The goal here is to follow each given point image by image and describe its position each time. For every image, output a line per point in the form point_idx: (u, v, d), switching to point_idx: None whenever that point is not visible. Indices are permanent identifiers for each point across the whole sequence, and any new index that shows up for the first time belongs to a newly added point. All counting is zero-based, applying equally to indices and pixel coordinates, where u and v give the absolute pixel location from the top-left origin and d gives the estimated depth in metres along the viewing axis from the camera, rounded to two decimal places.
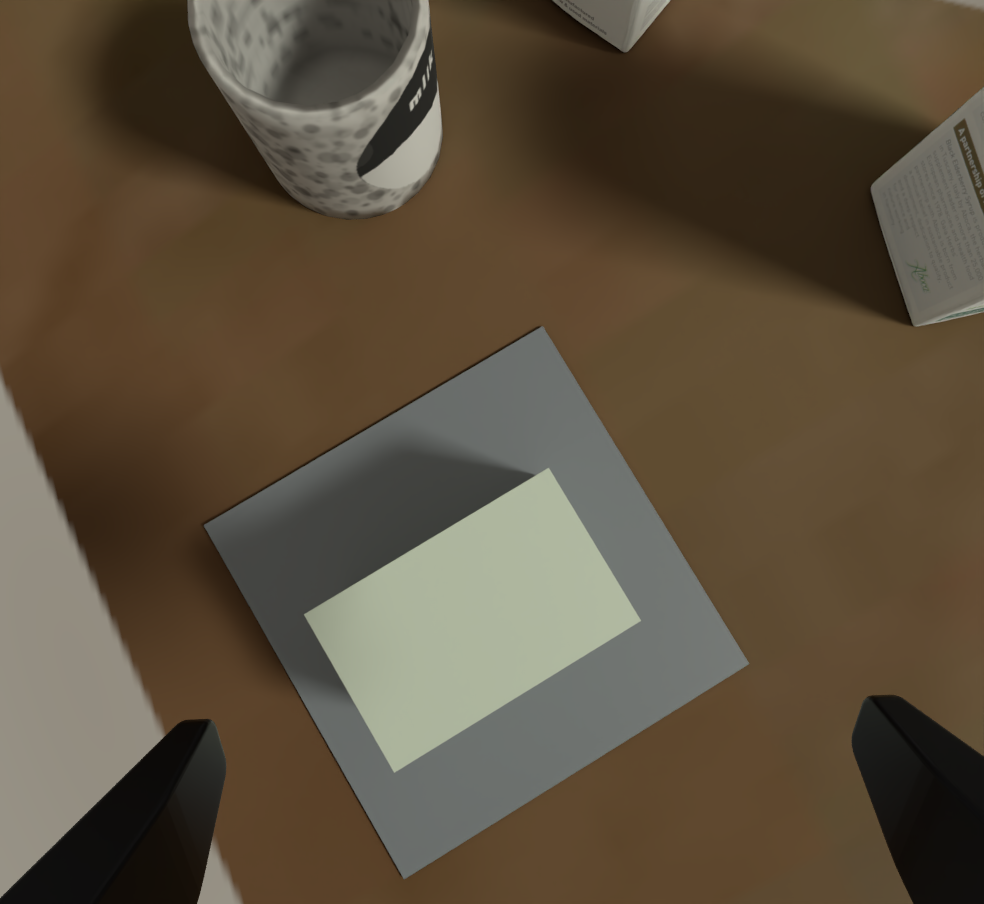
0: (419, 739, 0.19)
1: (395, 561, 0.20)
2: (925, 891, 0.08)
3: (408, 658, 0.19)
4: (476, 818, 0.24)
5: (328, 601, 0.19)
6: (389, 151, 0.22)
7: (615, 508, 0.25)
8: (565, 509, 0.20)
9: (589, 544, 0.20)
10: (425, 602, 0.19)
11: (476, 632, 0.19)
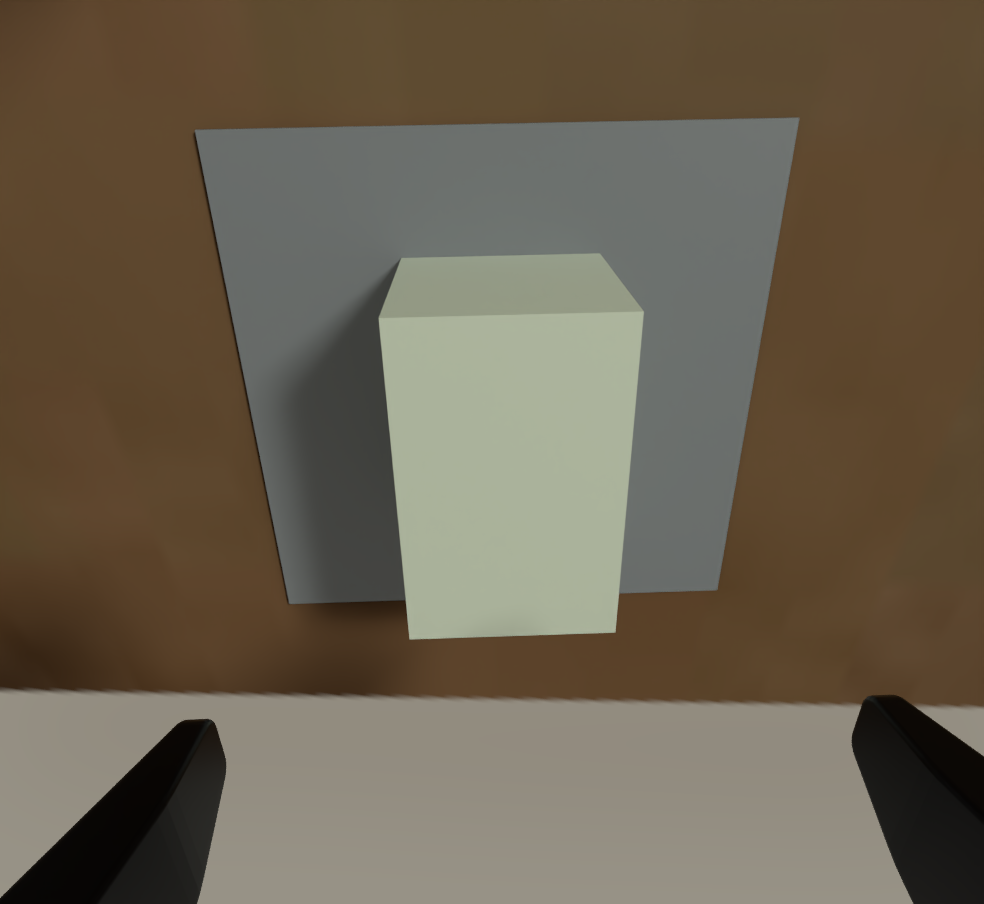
0: (601, 599, 0.16)
1: (402, 539, 0.15)
2: (925, 891, 0.08)
3: (514, 572, 0.16)
4: (716, 510, 0.21)
5: (409, 614, 0.16)
6: None
7: (498, 178, 0.17)
8: (445, 326, 0.13)
9: (508, 320, 0.13)
10: (464, 532, 0.15)
11: (531, 499, 0.15)
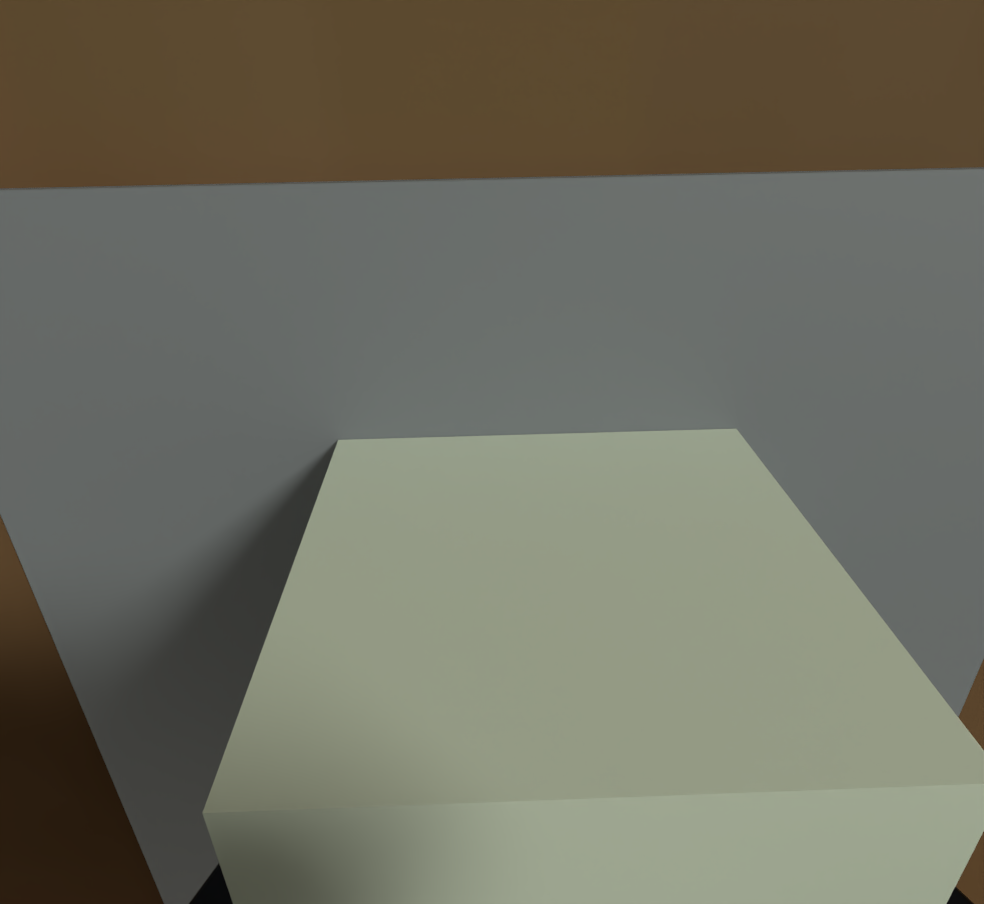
0: None
1: None
2: None
3: None
4: None
5: None
6: None
7: (537, 290, 0.08)
8: (409, 825, 0.04)
9: (599, 805, 0.04)
10: None
11: None
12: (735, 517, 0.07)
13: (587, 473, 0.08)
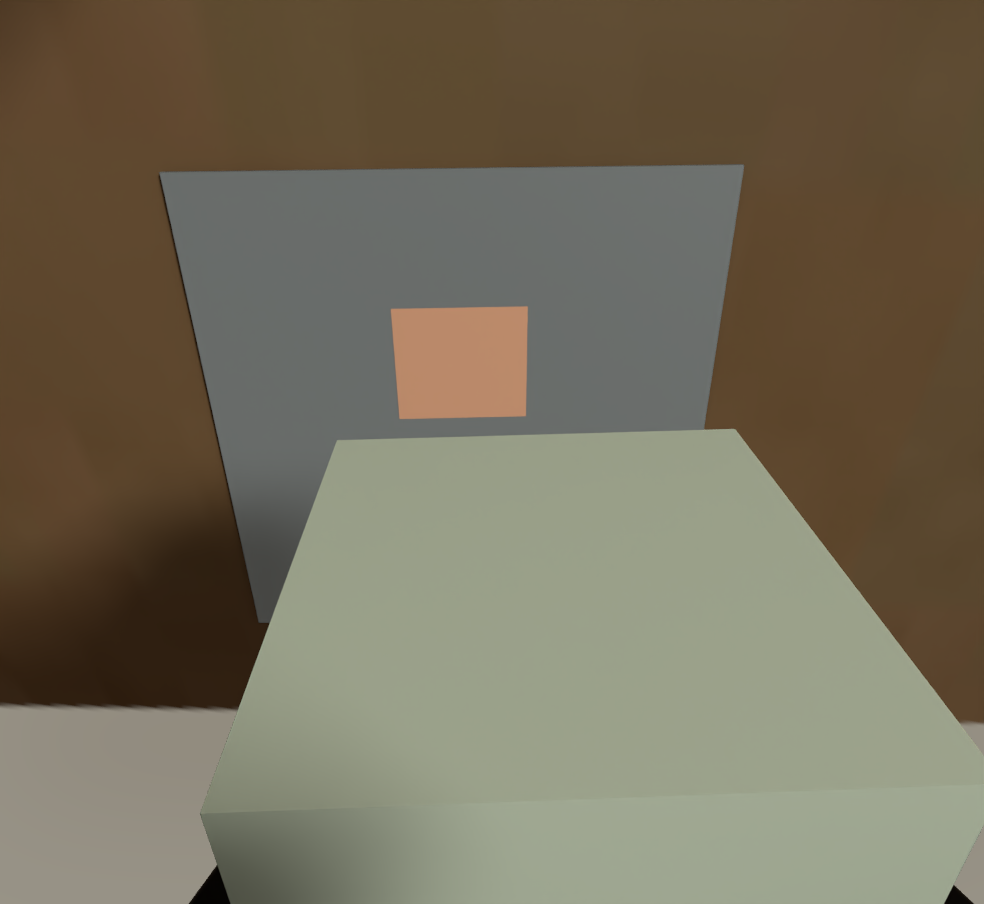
0: None
1: None
2: None
3: None
4: None
5: None
6: None
7: (455, 220, 0.17)
8: (406, 828, 0.04)
9: (596, 806, 0.04)
10: None
11: None
12: (733, 518, 0.07)
13: (585, 474, 0.08)
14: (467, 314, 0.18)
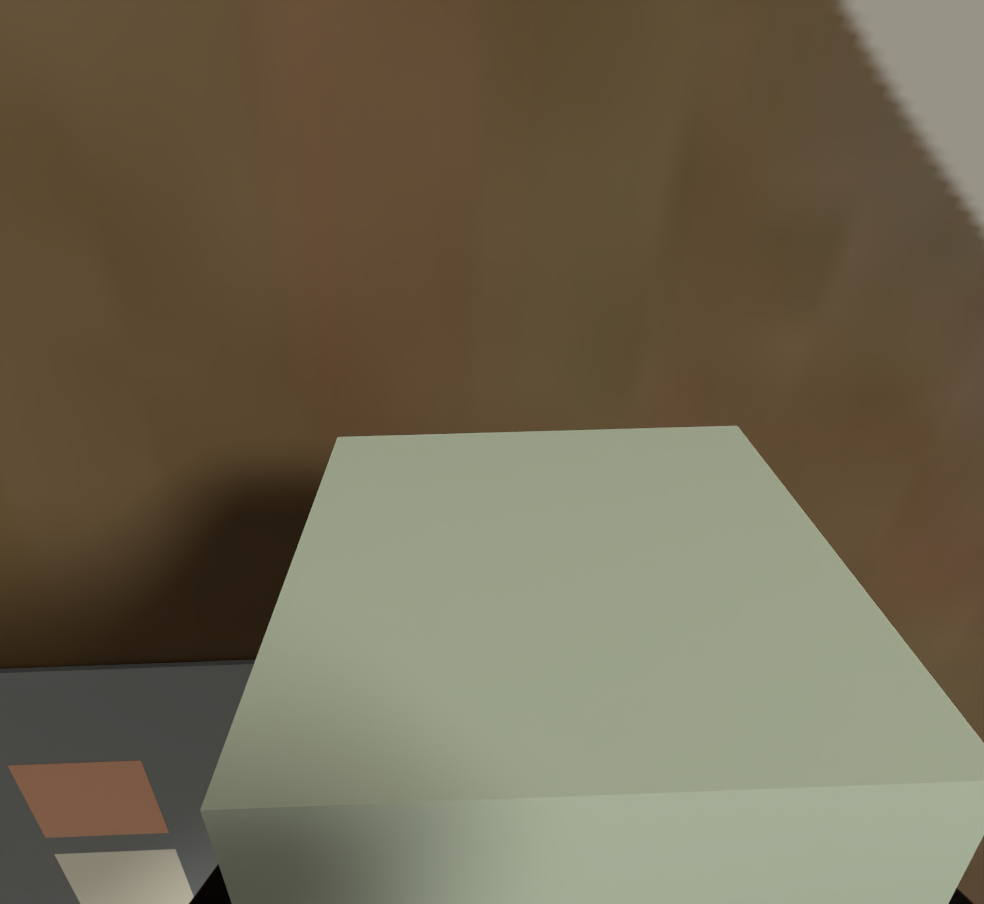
0: None
1: None
2: None
3: None
4: None
5: None
6: None
7: (46, 705, 0.18)
8: (407, 823, 0.04)
9: (599, 803, 0.04)
10: None
11: None
12: (736, 514, 0.07)
13: (587, 470, 0.08)
14: (84, 766, 0.19)
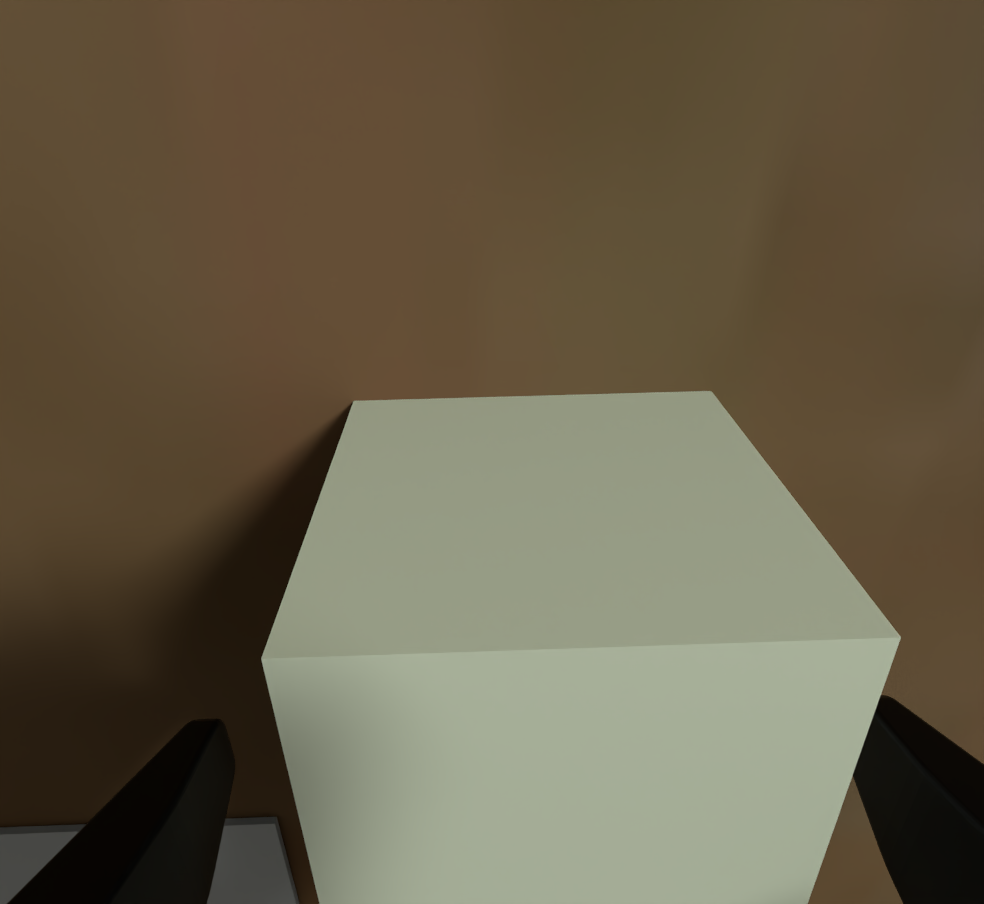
0: None
1: None
2: (915, 891, 0.08)
3: None
4: None
5: None
6: None
7: None
8: (423, 673, 0.05)
9: (575, 656, 0.06)
10: None
11: None
12: (700, 455, 0.08)
13: (574, 422, 0.09)
14: None
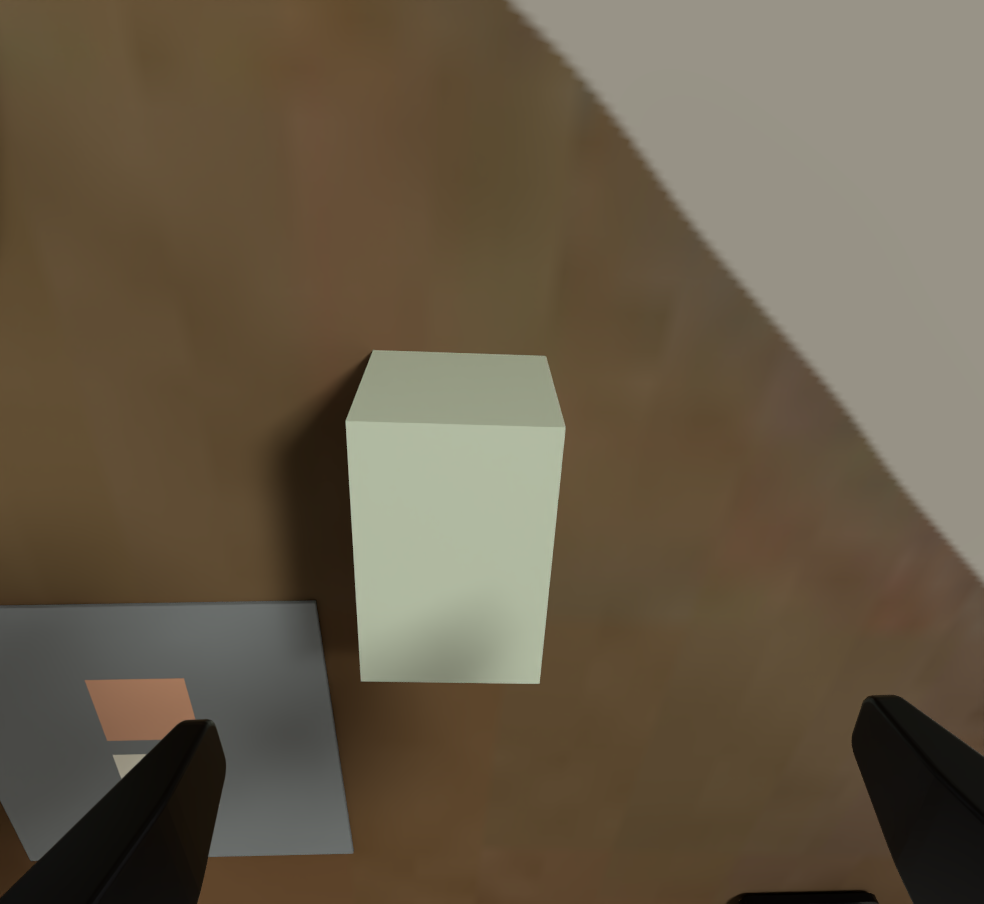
0: (528, 655, 0.19)
1: (357, 597, 0.18)
2: (925, 891, 0.08)
3: (453, 630, 0.19)
4: (335, 807, 0.29)
5: (361, 660, 0.19)
6: None
7: (118, 633, 0.24)
8: (401, 430, 0.16)
9: (453, 428, 0.16)
10: (412, 594, 0.18)
11: (469, 571, 0.18)
12: (526, 378, 0.19)
13: (476, 363, 0.19)
14: (141, 682, 0.26)
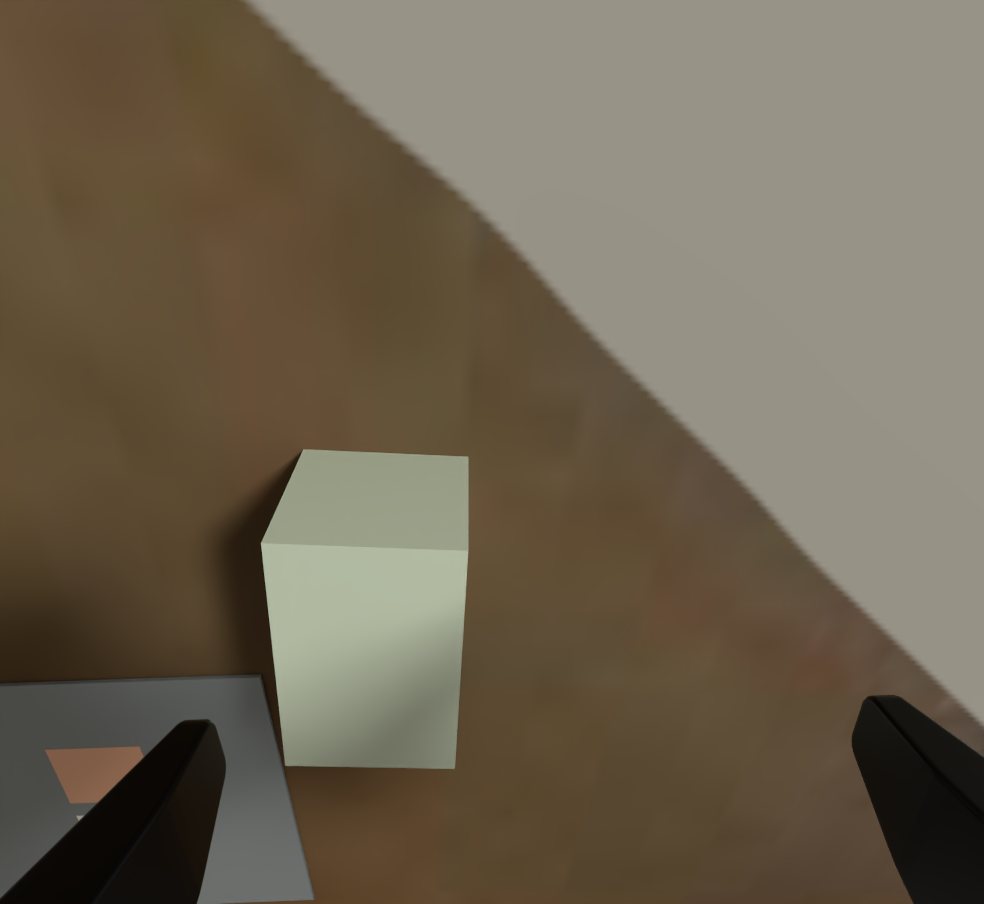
0: (442, 744, 0.20)
1: (279, 693, 0.19)
2: (925, 891, 0.08)
3: (370, 722, 0.20)
4: (293, 858, 0.30)
5: (284, 747, 0.20)
6: None
7: (74, 707, 0.26)
8: (313, 552, 0.17)
9: (363, 550, 0.17)
10: (330, 691, 0.19)
11: (384, 672, 0.19)
12: (443, 486, 0.20)
13: (399, 467, 0.20)
14: (99, 751, 0.27)
